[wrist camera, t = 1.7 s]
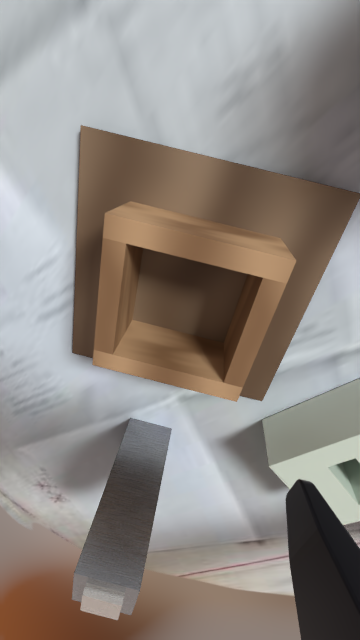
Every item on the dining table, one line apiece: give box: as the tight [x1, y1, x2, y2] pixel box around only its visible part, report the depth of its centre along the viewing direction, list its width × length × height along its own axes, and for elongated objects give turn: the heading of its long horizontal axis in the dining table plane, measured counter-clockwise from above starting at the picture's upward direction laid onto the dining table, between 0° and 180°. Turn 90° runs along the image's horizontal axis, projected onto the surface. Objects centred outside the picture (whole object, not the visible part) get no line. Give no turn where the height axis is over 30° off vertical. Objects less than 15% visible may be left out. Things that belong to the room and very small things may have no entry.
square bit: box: [72, 418, 171, 620], centre depth 23 cm, size 4×4×13 cm
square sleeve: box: [72, 125, 360, 402], centre depth 19 cm, size 16×16×5 cm
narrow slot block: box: [262, 378, 360, 525], centre depth 23 cm, size 9×9×4 cm
